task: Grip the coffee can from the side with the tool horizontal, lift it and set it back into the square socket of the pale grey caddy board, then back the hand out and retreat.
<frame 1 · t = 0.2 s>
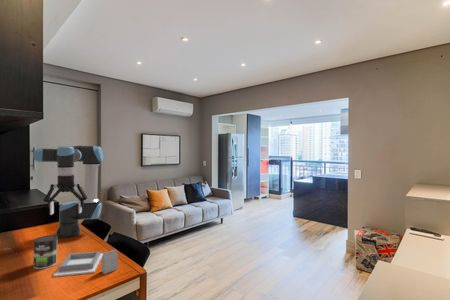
hand: (66, 213, 130), 27 cm above the table, tool pointing down, fingers open, 13 cm apart
caddy: (80, 264, 129), on the table
white printed box: (109, 270, 124), on the table
coffee can: (45, 264, 128), on the table
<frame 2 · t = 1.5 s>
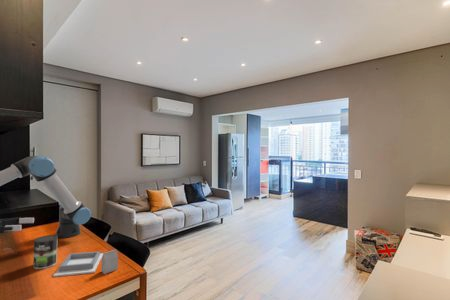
hand: (27, 223, 125), 22 cm above the table, tool horizontal, fingers open, 13 cm apart
nothing on the table moved.
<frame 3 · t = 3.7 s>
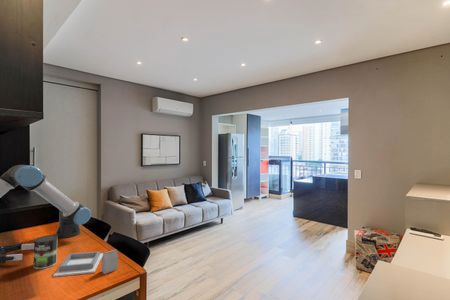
hand: (29, 251, 125), 8 cm above the table, tool horizontal, fingers open, 13 cm apart
nothing on the table moved.
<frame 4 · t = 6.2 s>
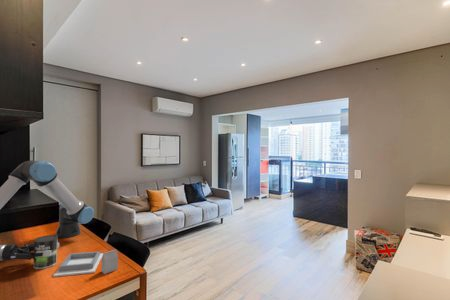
hand: (55, 248, 129), 8 cm above the table, tool horizontal, fingers closed on coffee can, 10 cm apart
coffee can: (45, 264, 128), on the table, touching gripper
everything else where it was.
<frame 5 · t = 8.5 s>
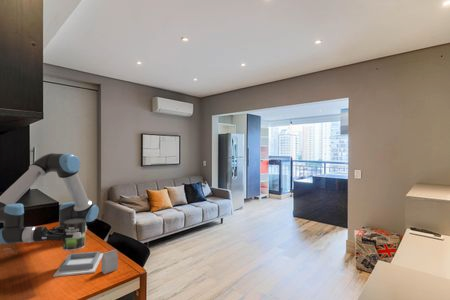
hand: (83, 231, 129), 18 cm above the table, tool horizontal, fingers closed on coffee can, 10 cm apart
coffee can: (74, 247, 128), point 10 cm above the table, touching gripper
everything else where it was.
when the fingers open (10 cm above the table, at t = 11.1 s): coffee can drops 1 cm, resting on caddy.
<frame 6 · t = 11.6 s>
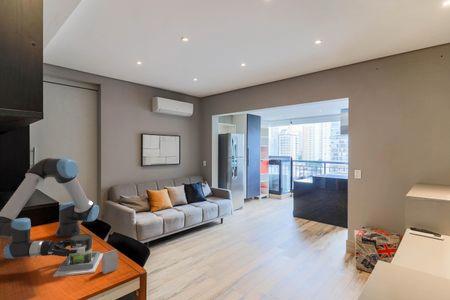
hand: (88, 245, 130), 10 cm above the table, tool horizontal, fingers open, 13 cm apart
coffee can: (80, 263, 129), point 1 cm above the table, touching caddy
everything else where it was.
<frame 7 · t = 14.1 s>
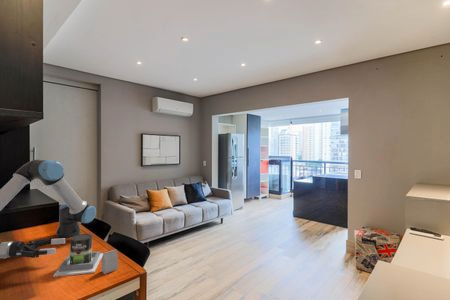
hand: (60, 245, 126), 11 cm above the table, tool horizontal, fingers open, 13 cm apart
nothing on the table moved.
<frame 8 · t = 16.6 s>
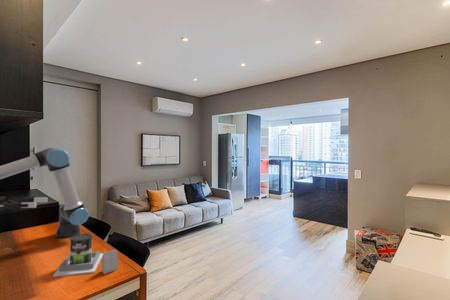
hand: (41, 202, 134), 32 cm above the table, tool horizontal, fingers open, 13 cm apart
nothing on the table moved.
at the end: coffee can 0.1 cm off-centre on the caddy, point 0.6 cm above the caddy's base; coffee can tilted 0°; the gripper is holding nothing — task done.
